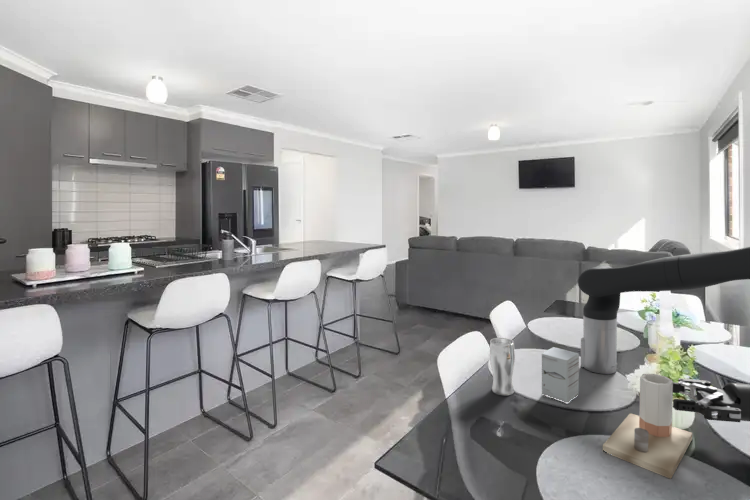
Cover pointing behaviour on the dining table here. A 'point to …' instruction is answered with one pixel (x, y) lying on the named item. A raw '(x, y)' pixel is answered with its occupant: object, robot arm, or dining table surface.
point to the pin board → (648, 447)
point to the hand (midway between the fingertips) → (666, 395)
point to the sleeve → (656, 404)
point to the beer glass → (502, 365)
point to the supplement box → (560, 374)
